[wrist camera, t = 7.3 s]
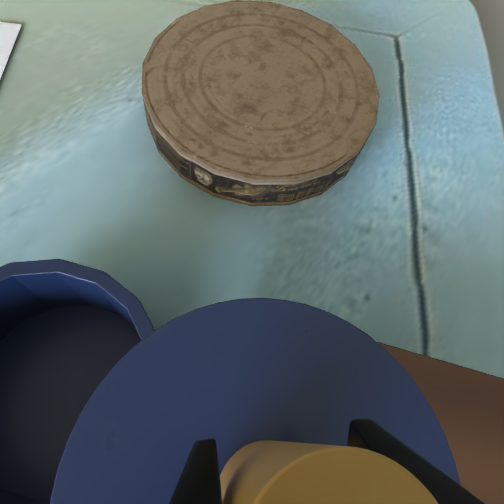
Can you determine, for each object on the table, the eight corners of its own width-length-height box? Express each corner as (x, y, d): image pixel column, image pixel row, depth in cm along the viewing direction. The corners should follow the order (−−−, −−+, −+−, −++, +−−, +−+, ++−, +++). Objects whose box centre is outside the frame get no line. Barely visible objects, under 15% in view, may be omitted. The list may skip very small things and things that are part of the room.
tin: (126, 540, 18) (97, 582, 13) (-89, 477, 18) (-198, 494, 13) (196, 326, 23) (194, 297, 18) (22, 276, 23) (-29, 232, 18)
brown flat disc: (204, 11, 33) (204, -26, 31) (385, 80, 32) (402, 47, 30) (103, 151, 27) (92, 119, 24) (327, 242, 26) (341, 220, 23)
